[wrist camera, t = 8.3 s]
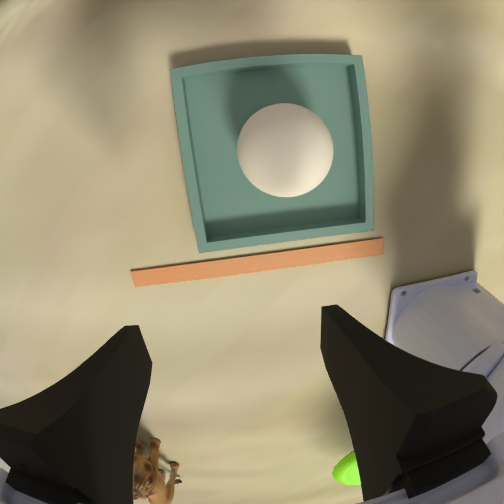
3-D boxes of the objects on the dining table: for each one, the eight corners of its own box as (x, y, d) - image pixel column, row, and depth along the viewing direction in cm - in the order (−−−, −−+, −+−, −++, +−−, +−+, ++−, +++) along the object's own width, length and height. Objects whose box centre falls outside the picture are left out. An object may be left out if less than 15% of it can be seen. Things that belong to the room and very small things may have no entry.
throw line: (382, 237, 20) (383, 238, 20) (382, 253, 21) (382, 253, 21) (130, 271, 20) (130, 271, 20) (135, 286, 21) (134, 286, 21)
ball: (314, 105, 17) (342, 96, 12) (321, 184, 18) (350, 201, 14) (231, 111, 17) (231, 102, 12) (241, 193, 18) (244, 213, 14)
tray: (353, 59, 16) (361, 55, 14) (365, 223, 20) (373, 230, 19) (174, 73, 16) (170, 69, 14) (201, 244, 20) (198, 253, 19)
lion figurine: (105, 422, 27) (86, 486, 19) (143, 420, 27) (128, 491, 19) (166, 478, 33) (160, 530, 24) (199, 477, 32) (197, 531, 24)
